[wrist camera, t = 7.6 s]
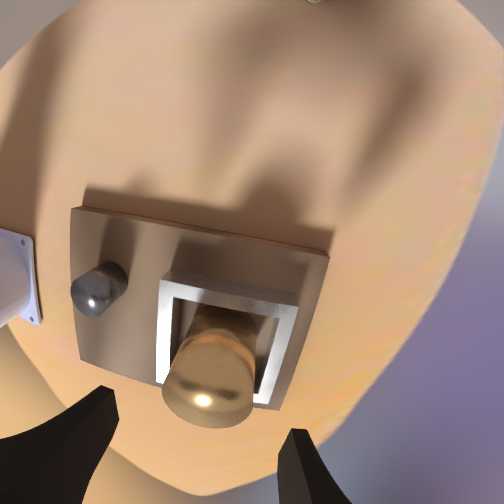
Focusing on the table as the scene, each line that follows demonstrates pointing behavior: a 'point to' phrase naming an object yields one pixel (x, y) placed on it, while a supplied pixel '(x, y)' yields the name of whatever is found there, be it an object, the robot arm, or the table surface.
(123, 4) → the table surface
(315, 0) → the box
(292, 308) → the fitting board
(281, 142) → the table surface
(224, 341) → the cylinder
